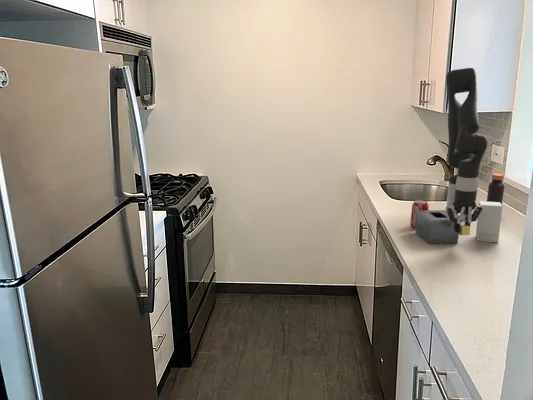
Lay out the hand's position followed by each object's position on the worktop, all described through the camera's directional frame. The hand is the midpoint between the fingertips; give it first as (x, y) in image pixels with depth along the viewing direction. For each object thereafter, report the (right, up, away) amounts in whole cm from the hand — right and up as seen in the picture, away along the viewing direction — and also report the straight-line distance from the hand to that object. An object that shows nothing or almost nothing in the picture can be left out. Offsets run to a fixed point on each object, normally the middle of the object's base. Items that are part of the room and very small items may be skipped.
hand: (461, 231), depth 177 cm
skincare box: (+16, -4, +13) cm, 21 cm away
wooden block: (0, -1, 0) cm, 1 cm away
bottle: (+36, +5, +49) cm, 60 cm away
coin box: (-4, -4, +15) cm, 16 cm away
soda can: (-7, 0, +29) cm, 29 cm away
